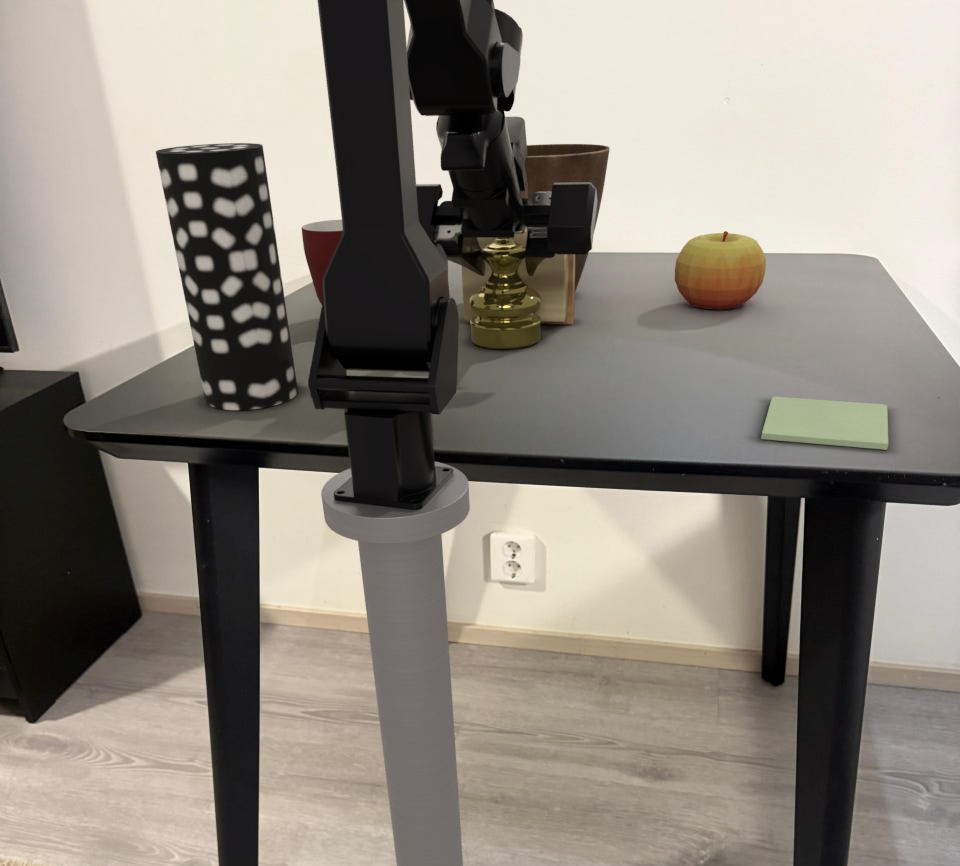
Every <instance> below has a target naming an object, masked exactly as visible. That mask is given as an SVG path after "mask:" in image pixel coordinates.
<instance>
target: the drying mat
mask: <svg viewBox="0 0 960 866" xmlns="http://www.w3.org/2000/svg"><path fill="white" fill-rule="evenodd" d="M888 418H889V417H888V404H882V403H871V402H857V401H856V402H855V401H853V402H852V401H841V400H829V399H827V400H826V399H814V398H813V399H812V398H800V397H798V398H797V397H786V396H771V400H770V403H769V406H768V410H767V413H766V416H765V420H764V424H763V428H762V431H761V436H760V439H761V440H765V441H768V440H769V441H779V442H788V443H789V442H791V443H803V444H813V445H824V446H835V447H847V448H859V449H861V448H862V449H870V450H871V449H872V450H885V451H887V450H888V447H889V421H888V420H889V419H888Z"/></svg>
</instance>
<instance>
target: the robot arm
mask: <svg viewBox="0 0 960 866" xmlns="http://www.w3.org/2000/svg"><path fill="white" fill-rule="evenodd" d="M317 7H318V17H319V25H320V35H321V44H322V53H323V61H324V63H323V64H324V71H325V81H326V88H327V89H326V90H327V97H328V107H329V116H330V125H331V134H332V142H333V152H334V160H335V170H336V179H337V185H338V186H337V188H338V189H337V190H338V198H339V207H340V215H341V220H342V227H343V233H342V235H341V238H340V240H339V242H338V245H337V247H336V249H335V251H334V254H333V256H332V258H331V261H330V263H329V265H328V267H327V270H326V272H325V274H324V277H323V296H324V302H323V305H321V309H320V315H319V320H318V325H317V331H316V335H315V342H314V347H313V353H312V359H311V363H310V367H309V368H310V369H309V375H308V381H307V386H308V390H309V394H310V398H311V399H312V403H313V407H314V409H315V410H318V411H319V410H320V411H321V410H322V411H324V410H325V409H328V410H329V409H330V410H344V413H343V417H344V426H345V433H346V442H347V449H348V458H349V459H348V460H349V465H350V468H351V476H352V477H351V478H350V479H349V480H347V481H346V482H345V483H344V484H343V485H342V486H340V487H339V488H338V489H337V490H336V491H335V492H334V493H333V494H334V500H336V501H342V502H351V503H359V504H367V505H375V506H383V507H392V508H400V509H408V510H420V509H422V508H423V507H424V506H425V505H426V504H427V503H428V502H429V501H430V500H431V499H432V498H433V497H434V496H435V495H436V494H437V493H438V492H439V491H440V489H441V488H442V487H443V486H444V485H445V484H446V483H447V482H448V481H449V480H450V479H451V478H452V477H453V475H454V472H453V469H452V468H449V467H440V466H435V462H436V461H435V458H436V457H435V444H434V430H433V415H441V414H442V412H443V411H444V410H445V409H446V408H447V406H448V404H449V403H450V402H451V401H452V399H453V398H454V396H455V395H456V393H457V390H458V389H457V388H458V365H459V364H458V361H459V334H460V333H459V332H460V331H459V330H460V326H459V325H460V319H459V310H458V305H457V302H456V300H455V298H454V297H451V295H450V288H449V287H450V286H449V285H450V284H449V262H452V263H454V264H456V265H459V266H461V267H462V266H463V267H465V268H467V269H469V270H471V271H473V272H475V273H476V274H478V275H480V276H484V275H485V269H486V266H485V261H484V259H483V258H481V256H480V254H479V253H480V249H481V248H480V245H479V242H478V240H477V238H514V234H523V233H524V232H525V226H527V227H526V228H527V233H528V234H527V241H526V249H525V263H526V270H527V273H528V275H529V276H533V275H534V273H535V271H536V269H537V267H538V265H539V264H540V263H541V262H542V261H543V260H544V259H545V258H553V257H554V256H555V255H556V254H573V255H585V254H586V253H588V252H589V253H590V251H592V250H593V242H594V235H595V231H594V226H595V218H596V209H597V189H596V188H595V187H594V185H593V184H592V183H591V182H570V183H554V184H553V186H552V192H536V193H534V194H533V195H532V196H531V197H530V198H521V193H520V191H526V184H527V177H526V171H525V166H524V165H525V159H526V157H527V145H528V144H527V133H526V132H527V131H526V130H527V129H526V122H525V119H524V118H523V117H522V116H506V114H505V112H511V110H512V108H513V106H514V103H515V97H516V92H517V91H516V90H517V85H518V81H519V75H520V69H521V55H522V48H523V40H524V34H523V30H522V27H520V26H519V23H518V22H517V21H516V20H515V19H514V18H513V17H512V16H511V15H509V14H508V13H506V12H504V11H502V10H500V9H498V8H496V7H495V2H494V0H317ZM405 8H406V12H407V16H408V19H409V24H410V26H409V31H408V37H407V33H406V32H407V31H406V21H405V20H406V19H405V17H406V16H405ZM411 101H413V104H414V107H415V110H416V112H418V114H419V115H420V116H425V117H437V120H436V126H435V127H436V128H435V131H436V136H437V139H438V143H439V146H440V148H441V150H440V151H441V152H440V169H441V171H443V172H448V176H449V180H450V183H451V186H452V195H451V200H444V201H442V202H440V204H439V200H441V198H443V193H444V191H443V188H442V185H441V183H426V184H425V183H423V184H422V183H419V184H418V183H417V180H416V179H417V178H416V163H415V150H414V135H413V120H412V109H411V108H412V105H411ZM589 253H588V254H589ZM348 371H358V372H359V371H361V372H362V371H363V372H391V373H393V372H395V373H425V374H426V373H427V374H428V376H427V377H409V376H408V377H405V376H378V375H377V376H375V375H374V376H373V375H370V376H369V375H347V372H348Z"/></svg>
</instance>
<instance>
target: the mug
mask: <svg viewBox="0 0 960 866" xmlns="http://www.w3.org/2000/svg"><path fill="white" fill-rule="evenodd" d="M342 233H343V227H342V219H329V220H323V221H315V222H314V221H313V222H311V223H307V224H304V225H302V226H301V237H302V244H303V245H302V246H303V252H304V257H305V261H306V263H307V266H308V267H307V268H308V270H309V274H310V277H311V280H312V285H313V287H314V292H315V294H316V298H317V300H318V302H319V303H320V305H321V306H322V305H323V302H324V296H323V277H324V274H325V272H326V270H327V267H328V265H329V263H330V261H331V258H332V256H333V254H334V251H335V249H336V247H337V245H338V242H339V240H340V238H341V235H342Z"/></svg>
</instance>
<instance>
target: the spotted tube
mask: <svg viewBox="0 0 960 866" xmlns="http://www.w3.org/2000/svg"><path fill="white" fill-rule="evenodd" d="M155 155H156V156H155V157H156V161H157V167H158V170H159V176H160V181H161V186H162V190H163V196H164V201H165V206H166V211H167V215H168V221H169V227H170V231H171V237H172V242H173V246H174V251H175V256H176V261H177V265H178V270H179V276H180V282H181V286H182V291H183V297H184V302H185V305H186V307H185V308H186V311H187V316H188V321H189V326H190V331H191V336H192V341H193V346H194V351H195V356H196V361H197V366H198V372H199V376H200V381H201V382H200V383H201V387H202V391H203V396H204V401H205V404H207V405H208V406H209V407H212V408H215V409H219V410H225V411H251V410H259V409H260V410H261V409H267V408H270V407H275V406H277V405H281V404H284V403H286V402H289V401H291V400H292V399H293V398H295V397H296V396H297V395H298V393H299V392H298V391H299V389H298V383H297V376H296V369H295V361H294V355H293V348H292V340H291V334H290V327H289V320H288V312H287V306H286V298H285V291H284V284H283V278H282V272H281V264H280V257H279V249H278V243H277V237H276V236H277V235H276V229H275V221H274V215H273V207H272V202H271V193H270V188H269V179H268V173H267V166H266V165H267V164H266V160H265V159H266V158H265V152H264V146H263V144H261V143H254V142H253V143H251V142H236V143H235V142H231V143H227V142H226V143H207V144H192V145H184V146H182V145H181V146H173V147H165V148H161V149H157V150H155Z"/></svg>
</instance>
